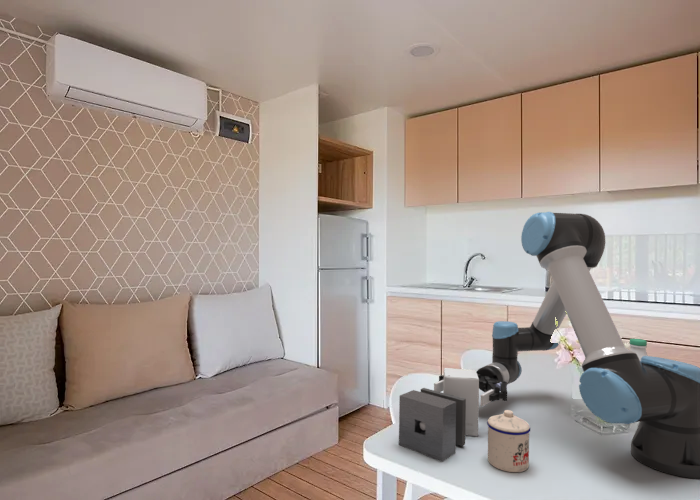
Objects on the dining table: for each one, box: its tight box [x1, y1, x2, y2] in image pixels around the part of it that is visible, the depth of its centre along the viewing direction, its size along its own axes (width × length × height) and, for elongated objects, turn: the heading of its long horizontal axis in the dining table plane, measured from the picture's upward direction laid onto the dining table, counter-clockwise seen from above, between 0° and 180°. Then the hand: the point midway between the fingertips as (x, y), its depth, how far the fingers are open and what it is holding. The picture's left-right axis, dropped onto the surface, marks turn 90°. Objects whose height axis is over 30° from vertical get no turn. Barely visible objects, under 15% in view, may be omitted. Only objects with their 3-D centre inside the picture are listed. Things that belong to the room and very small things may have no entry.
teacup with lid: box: [486, 409, 531, 473], centre depth 96 cm, size 12×9×12 cm
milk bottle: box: [629, 338, 649, 361], centre depth 137 cm, size 8×8×20 cm
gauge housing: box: [398, 389, 457, 463], centre depth 106 cm, size 15×15×12 cm
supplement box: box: [442, 367, 480, 437], centre depth 114 cm, size 9×9×15 cm
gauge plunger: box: [419, 387, 466, 447], centre depth 104 cm, size 14×10×11 cm, turn 47°
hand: (457, 394), depth 112 cm, fingers open, 13 cm apart
